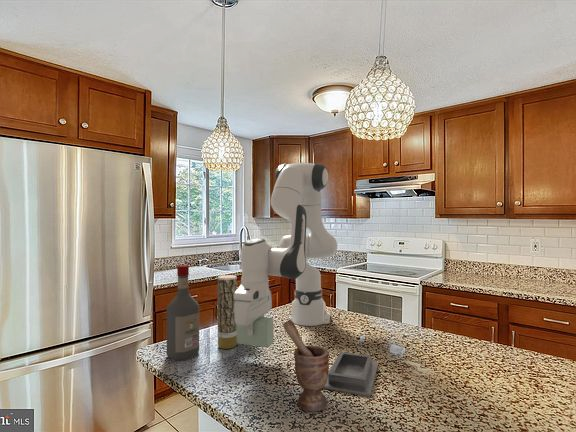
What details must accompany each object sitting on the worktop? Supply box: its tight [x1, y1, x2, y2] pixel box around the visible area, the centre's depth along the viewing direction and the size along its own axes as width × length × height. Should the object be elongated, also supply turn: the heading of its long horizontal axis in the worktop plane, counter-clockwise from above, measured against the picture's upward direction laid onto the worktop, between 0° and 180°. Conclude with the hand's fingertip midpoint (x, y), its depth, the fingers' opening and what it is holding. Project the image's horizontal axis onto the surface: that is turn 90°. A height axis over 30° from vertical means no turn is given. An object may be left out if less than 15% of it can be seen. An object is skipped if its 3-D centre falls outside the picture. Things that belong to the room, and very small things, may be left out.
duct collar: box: [322, 351, 379, 398], centre depth 99 cm, size 20×13×3 cm, turn 160°
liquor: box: [166, 264, 200, 362], centre depth 115 cm, size 9×9×30 cm
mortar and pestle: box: [282, 319, 330, 412], centre depth 84 cm, size 12×9×20 cm
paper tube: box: [217, 274, 238, 350], centre depth 122 cm, size 7×7×25 cm
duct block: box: [237, 316, 274, 348], centre depth 110 cm, size 4×11×8 cm, turn 69°
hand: (255, 331), depth 110 cm, fingers closed on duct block, 4 cm apart
